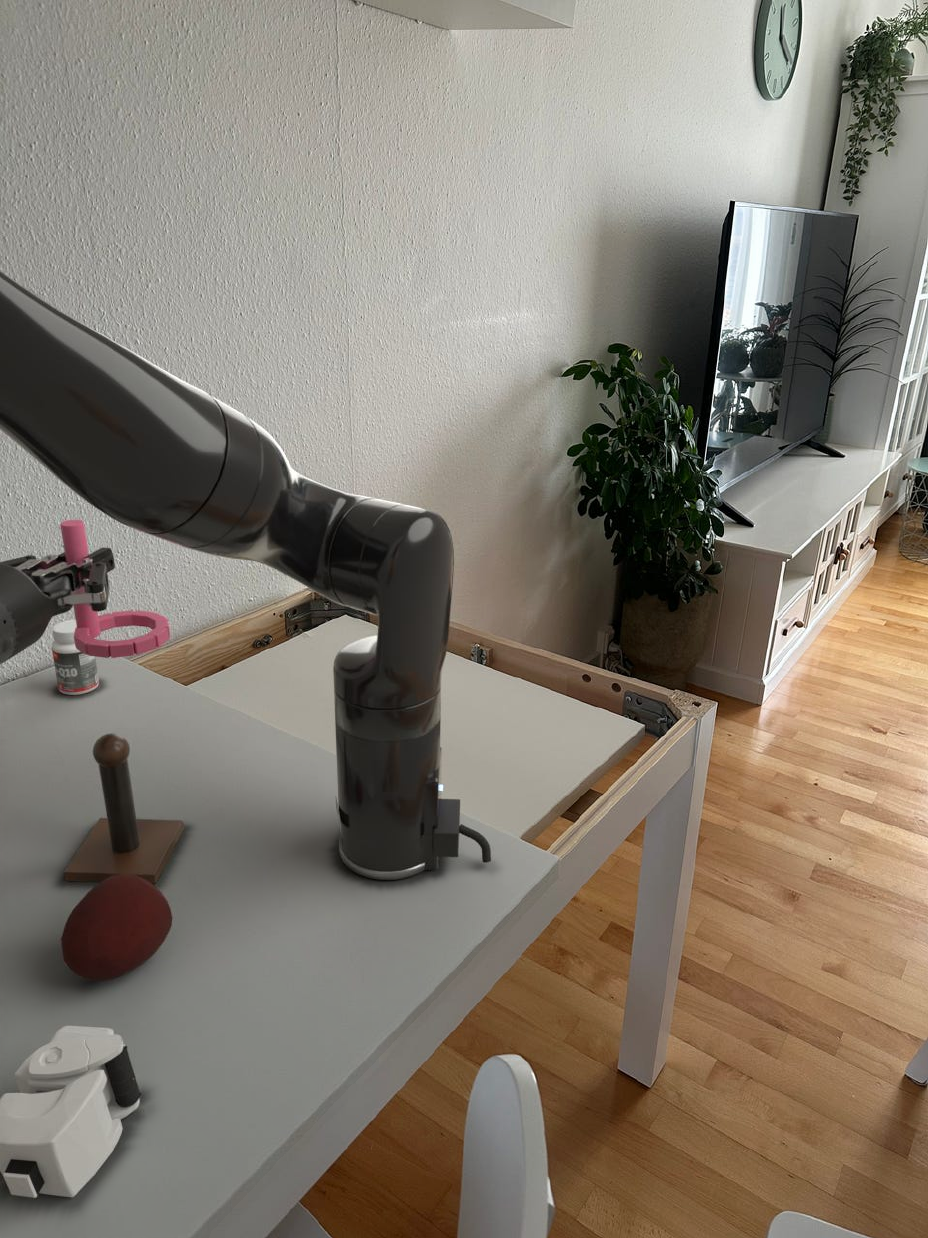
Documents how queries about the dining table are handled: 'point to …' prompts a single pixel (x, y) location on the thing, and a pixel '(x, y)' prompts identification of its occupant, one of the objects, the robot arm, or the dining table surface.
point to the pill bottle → (72, 662)
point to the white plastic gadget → (66, 1112)
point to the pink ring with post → (94, 624)
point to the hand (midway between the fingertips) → (96, 556)
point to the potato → (115, 928)
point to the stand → (122, 826)
